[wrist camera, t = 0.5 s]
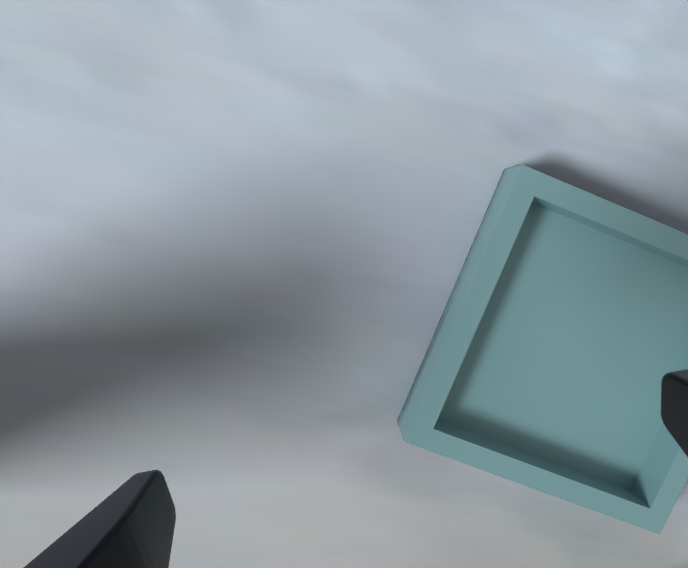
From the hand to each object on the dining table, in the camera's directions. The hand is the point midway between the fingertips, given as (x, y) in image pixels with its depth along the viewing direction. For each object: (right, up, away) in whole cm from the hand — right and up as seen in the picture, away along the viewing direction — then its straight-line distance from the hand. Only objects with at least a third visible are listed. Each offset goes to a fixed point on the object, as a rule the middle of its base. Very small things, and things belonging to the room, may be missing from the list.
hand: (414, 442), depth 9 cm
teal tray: (+10, 0, +16) cm, 18 cm away
